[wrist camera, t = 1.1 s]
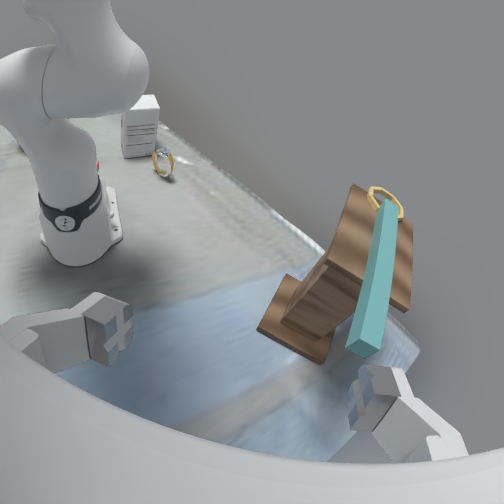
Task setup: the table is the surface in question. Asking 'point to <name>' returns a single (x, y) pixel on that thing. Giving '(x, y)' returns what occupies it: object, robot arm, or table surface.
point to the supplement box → (140, 127)
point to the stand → (336, 283)
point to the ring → (165, 154)
